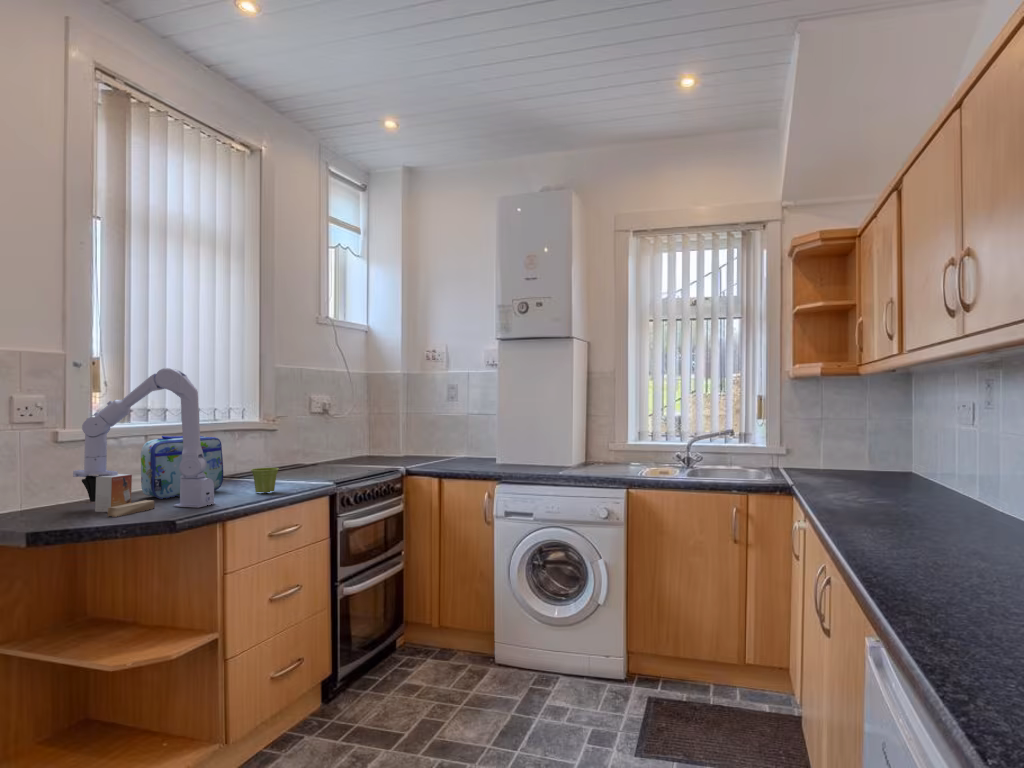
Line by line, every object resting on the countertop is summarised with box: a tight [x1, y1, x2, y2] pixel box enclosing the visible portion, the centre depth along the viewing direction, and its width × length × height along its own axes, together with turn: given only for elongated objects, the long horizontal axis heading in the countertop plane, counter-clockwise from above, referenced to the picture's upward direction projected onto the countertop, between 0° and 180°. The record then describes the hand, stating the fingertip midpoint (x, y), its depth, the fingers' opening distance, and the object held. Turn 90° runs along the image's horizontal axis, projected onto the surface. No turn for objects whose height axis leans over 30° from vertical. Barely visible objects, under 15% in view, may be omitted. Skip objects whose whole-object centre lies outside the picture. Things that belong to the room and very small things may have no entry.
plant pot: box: [250, 467, 280, 493], centre depth 228 cm, size 9×9×9 cm
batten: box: [107, 499, 155, 518], centre depth 188 cm, size 3×14×2 cm, turn 167°
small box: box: [94, 473, 133, 513], centre depth 192 cm, size 8×6×10 cm
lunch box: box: [140, 435, 224, 500], centre depth 223 cm, size 26×11×21 cm, turn 146°
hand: (94, 501), depth 193 cm, fingers closed
